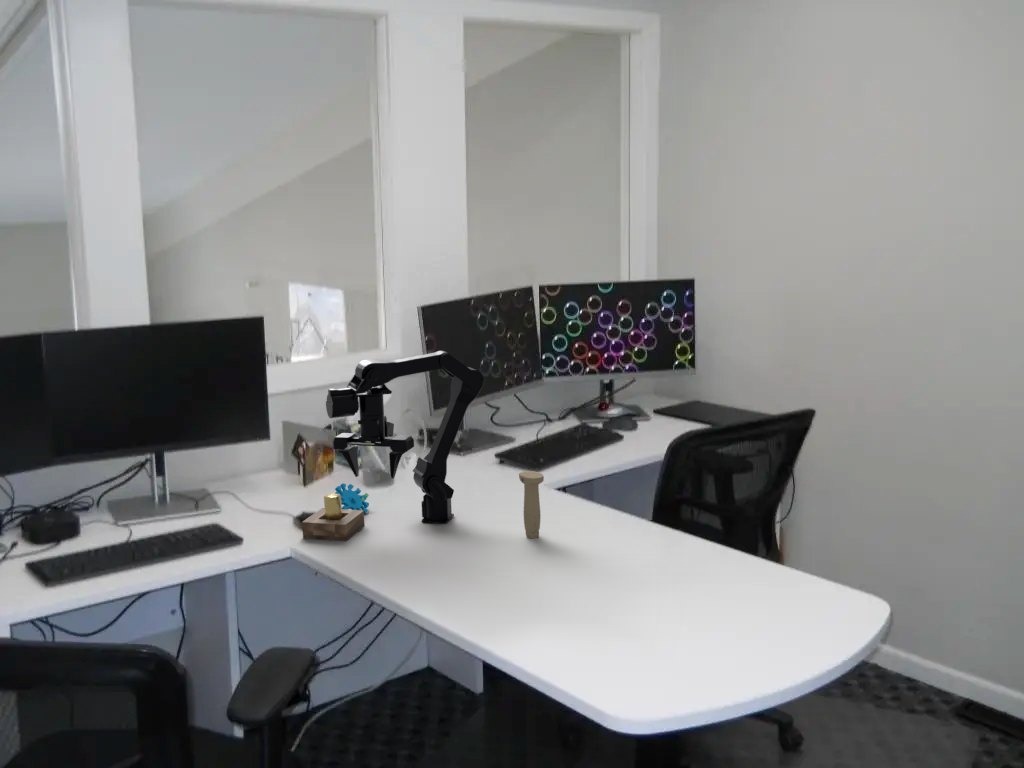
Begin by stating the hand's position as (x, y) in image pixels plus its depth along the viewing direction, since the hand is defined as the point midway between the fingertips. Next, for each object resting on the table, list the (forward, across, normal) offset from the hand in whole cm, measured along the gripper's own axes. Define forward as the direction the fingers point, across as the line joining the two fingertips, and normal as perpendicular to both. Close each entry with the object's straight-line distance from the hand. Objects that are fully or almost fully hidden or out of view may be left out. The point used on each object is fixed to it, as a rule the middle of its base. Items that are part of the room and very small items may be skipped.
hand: (374, 477), depth 239 cm
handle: (+13, -38, -2) cm, 40 cm away
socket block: (+13, +10, +4) cm, 17 cm away
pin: (+12, +9, +4) cm, 16 cm away
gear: (+13, +11, -11) cm, 20 cm away
